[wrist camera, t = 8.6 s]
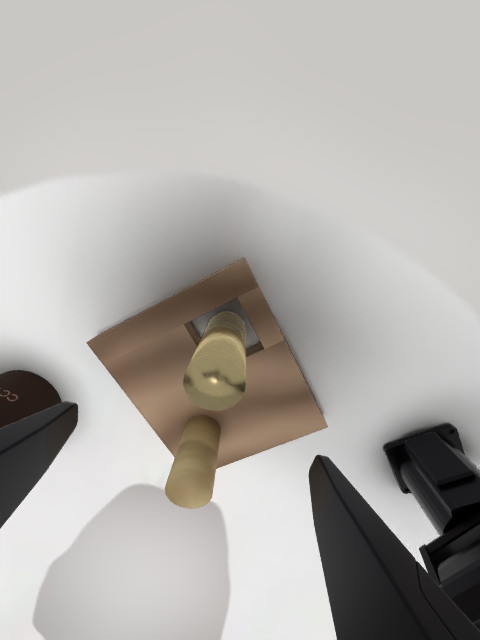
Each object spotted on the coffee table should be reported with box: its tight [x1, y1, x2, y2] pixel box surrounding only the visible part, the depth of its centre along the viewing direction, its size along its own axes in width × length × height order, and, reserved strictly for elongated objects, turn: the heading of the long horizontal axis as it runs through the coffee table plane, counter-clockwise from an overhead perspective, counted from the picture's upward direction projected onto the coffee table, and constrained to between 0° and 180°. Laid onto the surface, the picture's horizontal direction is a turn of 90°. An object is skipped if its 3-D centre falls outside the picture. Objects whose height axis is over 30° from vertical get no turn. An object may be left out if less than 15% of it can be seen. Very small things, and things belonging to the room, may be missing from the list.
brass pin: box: [183, 311, 246, 411], centre depth 16 cm, size 3×3×8 cm
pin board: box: [86, 258, 328, 508], centre depth 18 cm, size 16×14×7 cm
